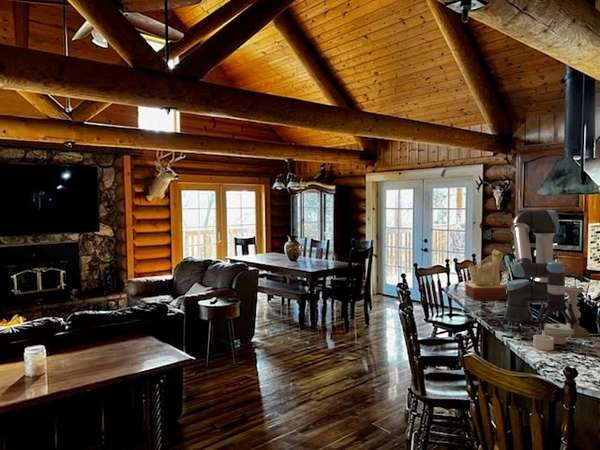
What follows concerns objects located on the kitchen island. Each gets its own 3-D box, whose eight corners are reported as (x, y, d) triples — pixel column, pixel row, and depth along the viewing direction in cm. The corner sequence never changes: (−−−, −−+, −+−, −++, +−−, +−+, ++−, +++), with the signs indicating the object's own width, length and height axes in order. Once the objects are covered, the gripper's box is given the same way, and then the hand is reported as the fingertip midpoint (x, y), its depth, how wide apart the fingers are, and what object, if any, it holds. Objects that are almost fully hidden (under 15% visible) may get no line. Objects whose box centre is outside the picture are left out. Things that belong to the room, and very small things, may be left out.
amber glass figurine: (498, 294, 335) (498, 248, 333) (509, 299, 317) (509, 250, 315) (465, 295, 335) (464, 249, 334) (474, 300, 317) (473, 251, 316)
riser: (547, 339, 225) (547, 329, 225) (559, 339, 224) (559, 329, 224) (552, 343, 219) (552, 332, 219) (565, 343, 218) (565, 332, 218)
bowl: (530, 344, 218) (530, 334, 218) (548, 344, 217) (548, 334, 217) (538, 350, 210) (538, 339, 210) (556, 350, 209) (556, 339, 209)
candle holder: (555, 331, 238) (555, 287, 237) (575, 330, 239) (575, 286, 238) (570, 337, 227) (569, 291, 226) (590, 336, 228) (590, 290, 227)
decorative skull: (483, 290, 352) (482, 264, 352) (475, 283, 378) (475, 260, 377) (506, 290, 350) (506, 264, 349) (497, 283, 375) (497, 260, 375)
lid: (539, 327, 227) (539, 322, 227) (562, 327, 226) (562, 322, 226) (549, 334, 216) (549, 328, 216) (573, 334, 215) (573, 328, 215)
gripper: (534, 294, 218) (534, 338, 219) (585, 294, 215) (585, 338, 217) (528, 291, 225) (528, 334, 226) (577, 291, 223) (577, 334, 224)
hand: (556, 336), depth 221 cm, fingers closed on lid, 11 cm apart
